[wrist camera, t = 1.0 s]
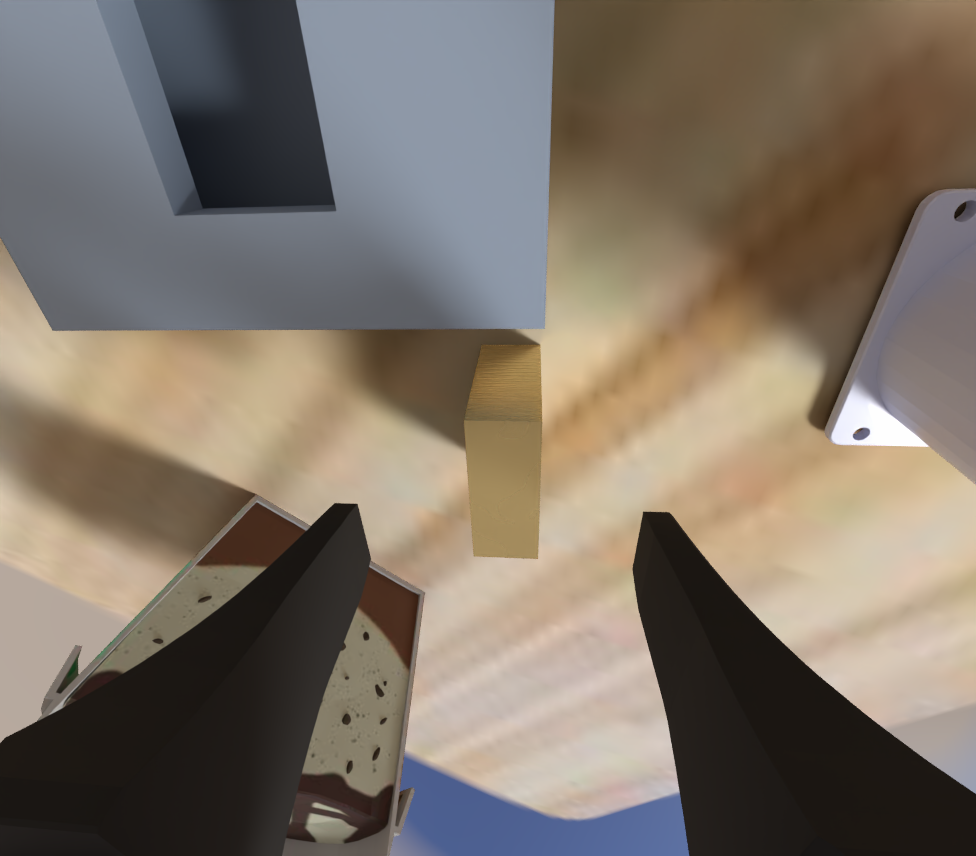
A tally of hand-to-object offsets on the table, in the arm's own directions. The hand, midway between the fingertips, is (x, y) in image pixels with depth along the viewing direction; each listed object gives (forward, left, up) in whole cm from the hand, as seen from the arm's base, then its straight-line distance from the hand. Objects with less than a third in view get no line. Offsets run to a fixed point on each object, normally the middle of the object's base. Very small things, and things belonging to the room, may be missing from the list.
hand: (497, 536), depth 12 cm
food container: (+10, +10, -7) cm, 16 cm away
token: (0, 0, -7) cm, 7 cm away
